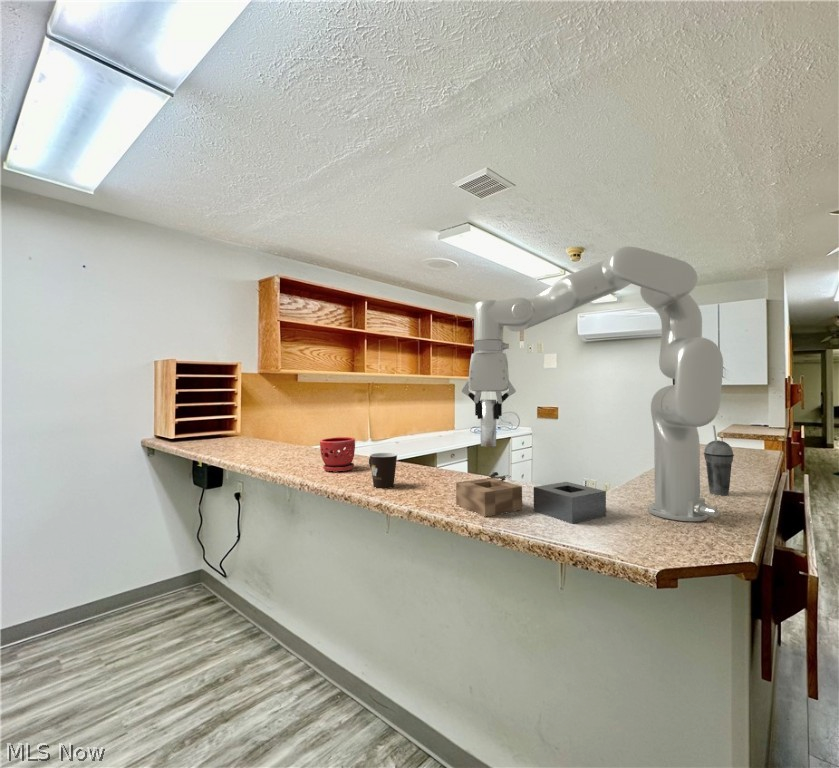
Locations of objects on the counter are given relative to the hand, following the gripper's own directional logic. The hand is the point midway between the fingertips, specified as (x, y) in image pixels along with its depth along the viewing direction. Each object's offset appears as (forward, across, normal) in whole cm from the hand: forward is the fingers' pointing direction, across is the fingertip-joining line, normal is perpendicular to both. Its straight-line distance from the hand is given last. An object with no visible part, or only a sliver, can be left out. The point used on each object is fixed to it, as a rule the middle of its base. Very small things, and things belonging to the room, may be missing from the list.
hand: (488, 417), depth 110 cm
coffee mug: (+24, +35, -17) cm, 46 cm away
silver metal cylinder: (+7, 0, 0) cm, 7 cm away
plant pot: (+24, +61, -37) cm, 75 cm away
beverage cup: (+23, -64, -31) cm, 75 cm away
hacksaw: (+24, 0, -31) cm, 39 cm away
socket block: (+23, -20, 0) cm, 31 cm away
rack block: (+23, 0, 0) cm, 23 cm away
